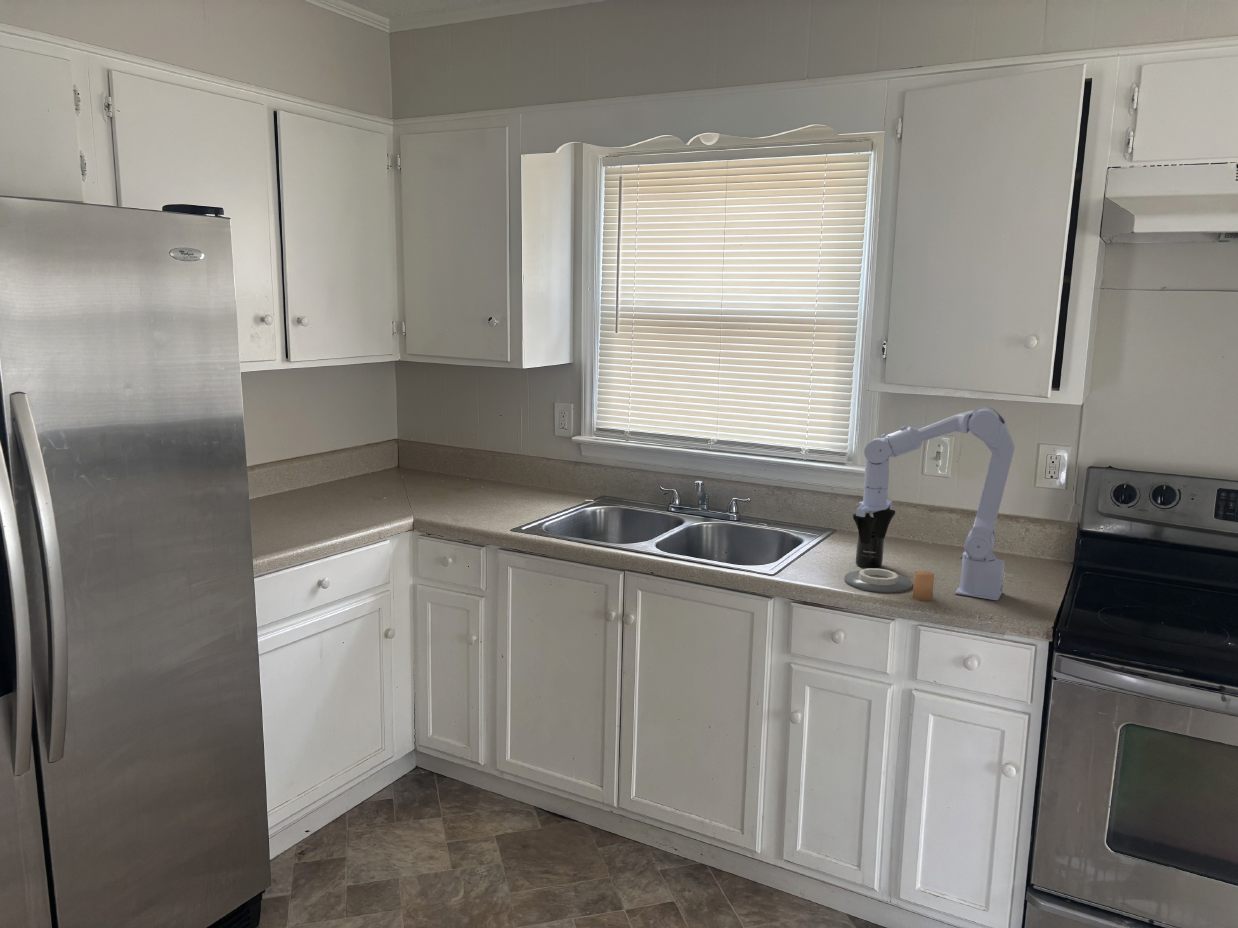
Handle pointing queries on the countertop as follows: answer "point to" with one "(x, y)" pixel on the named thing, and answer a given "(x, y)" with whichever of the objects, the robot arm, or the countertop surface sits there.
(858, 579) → the tray
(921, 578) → the tan rounded block
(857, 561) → the supplement bottle
